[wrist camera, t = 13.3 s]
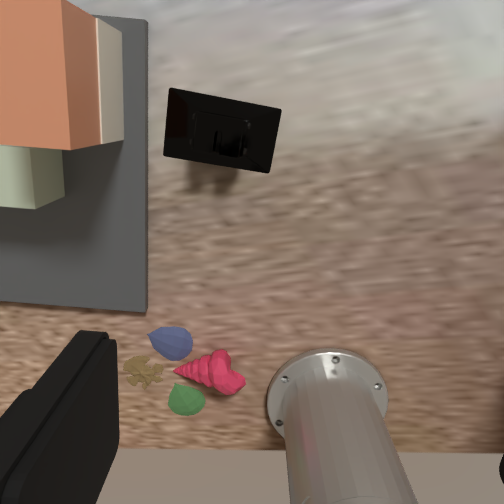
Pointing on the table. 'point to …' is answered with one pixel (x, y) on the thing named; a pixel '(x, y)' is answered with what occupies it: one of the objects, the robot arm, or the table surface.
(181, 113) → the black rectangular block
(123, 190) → the baseplate
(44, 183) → the sage brick
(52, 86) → the terracotta brick
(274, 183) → the table surface
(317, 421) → the robot arm
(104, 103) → the cream brick
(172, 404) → the toy pieces
